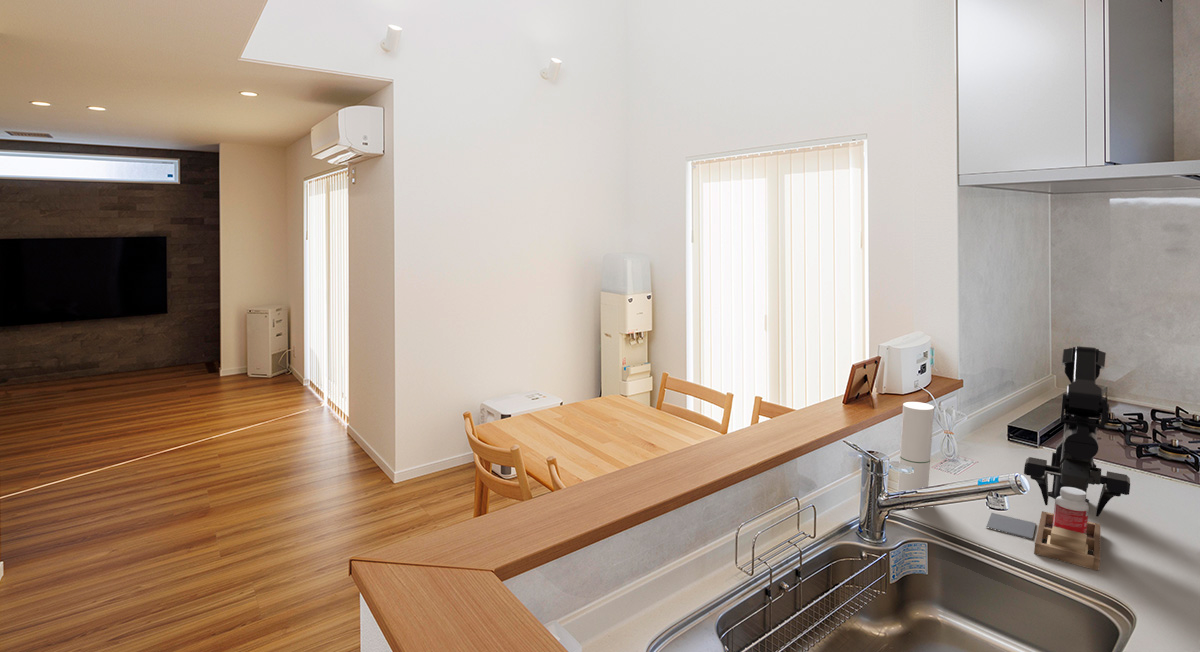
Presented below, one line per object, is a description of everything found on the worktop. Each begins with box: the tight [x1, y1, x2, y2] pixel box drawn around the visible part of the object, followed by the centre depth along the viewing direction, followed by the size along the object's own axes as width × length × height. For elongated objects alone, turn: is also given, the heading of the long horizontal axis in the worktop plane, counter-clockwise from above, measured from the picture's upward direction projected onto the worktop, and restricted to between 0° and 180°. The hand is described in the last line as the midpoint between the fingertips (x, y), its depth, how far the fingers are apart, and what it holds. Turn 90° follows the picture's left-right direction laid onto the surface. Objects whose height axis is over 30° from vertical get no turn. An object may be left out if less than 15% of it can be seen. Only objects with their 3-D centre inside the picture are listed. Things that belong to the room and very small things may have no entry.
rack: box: [1033, 510, 1102, 572], centre depth 137 cm, size 11×19×2 cm, turn 141°
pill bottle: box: [1051, 487, 1090, 534], centre depth 140 cm, size 6×6×11 cm
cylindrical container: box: [897, 401, 935, 492], centre depth 160 cm, size 7×7×25 cm
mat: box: [985, 512, 1037, 540], centre depth 145 cm, size 9×9×1 cm
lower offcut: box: [1046, 535, 1089, 555], centre depth 133 cm, size 7×5×2 cm
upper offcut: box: [1050, 525, 1088, 553], centre depth 133 cm, size 6×4×2 cm, turn 49°
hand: (1071, 510), depth 139 cm, fingers open, 9 cm apart
